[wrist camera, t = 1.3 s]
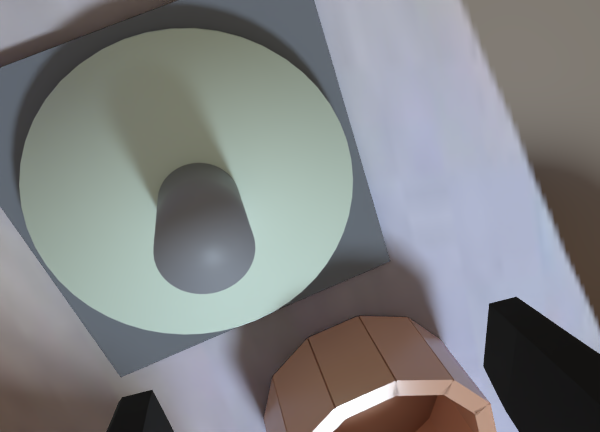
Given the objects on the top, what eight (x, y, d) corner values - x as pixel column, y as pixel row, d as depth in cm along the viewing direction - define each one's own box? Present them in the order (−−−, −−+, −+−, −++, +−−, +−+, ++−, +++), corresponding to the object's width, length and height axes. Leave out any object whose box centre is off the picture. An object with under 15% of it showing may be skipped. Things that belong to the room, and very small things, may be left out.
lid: (126, 364, 21) (114, 456, 17) (-52, 106, 16) (-137, 146, 11) (377, 256, 22) (426, 318, 18) (291, -25, 16) (331, -34, 12)
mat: (121, 370, 22) (120, 377, 21) (-72, 94, 16) (-77, 96, 15) (386, 257, 23) (390, 261, 22) (297, -46, 17) (300, -47, 16)
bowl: (302, 490, 28) (324, 573, 24) (236, 368, 23) (249, 446, 19) (460, 418, 28) (507, 486, 24) (426, 285, 24) (477, 344, 20)
